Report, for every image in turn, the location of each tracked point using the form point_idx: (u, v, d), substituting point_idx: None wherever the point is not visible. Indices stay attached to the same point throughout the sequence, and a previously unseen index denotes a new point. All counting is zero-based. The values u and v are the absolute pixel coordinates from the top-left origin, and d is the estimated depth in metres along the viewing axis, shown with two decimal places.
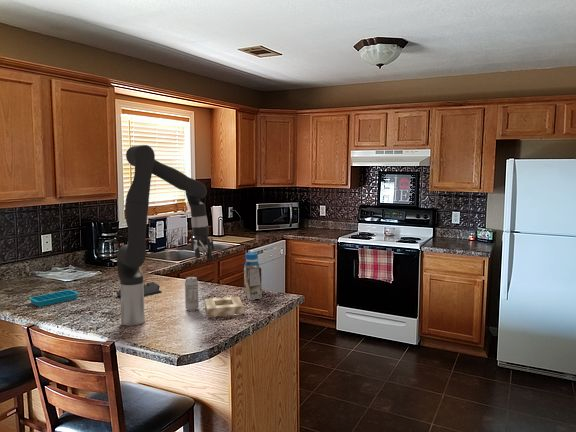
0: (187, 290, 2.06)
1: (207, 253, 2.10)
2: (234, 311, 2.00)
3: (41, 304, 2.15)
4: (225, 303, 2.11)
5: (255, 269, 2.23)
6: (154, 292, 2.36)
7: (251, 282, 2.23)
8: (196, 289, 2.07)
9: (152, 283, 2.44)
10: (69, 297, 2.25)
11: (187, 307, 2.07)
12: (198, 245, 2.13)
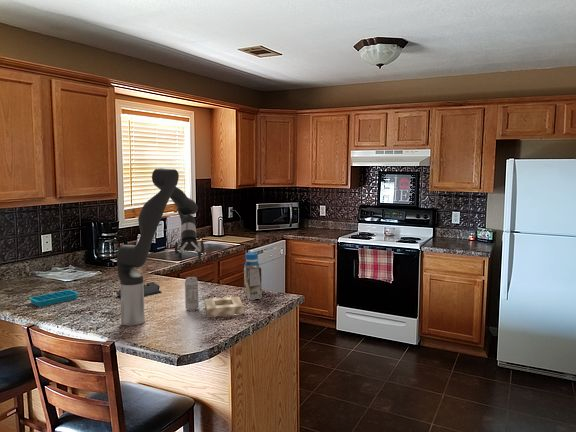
0: (187, 290, 2.06)
1: (199, 253, 2.21)
2: (234, 311, 2.00)
3: (41, 304, 2.15)
4: (225, 303, 2.11)
5: (255, 269, 2.23)
6: (154, 292, 2.36)
7: (251, 282, 2.23)
8: (196, 289, 2.07)
9: (152, 283, 2.44)
10: (69, 297, 2.25)
11: (187, 307, 2.07)
12: (186, 247, 2.22)
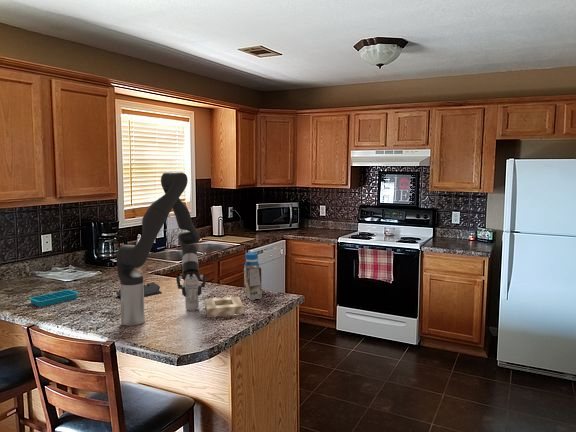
0: (187, 290, 2.06)
1: (199, 287, 2.09)
2: (234, 311, 2.00)
3: (42, 304, 2.15)
4: (225, 303, 2.11)
5: (255, 269, 2.23)
6: (154, 293, 2.35)
7: (251, 282, 2.23)
8: (196, 289, 2.07)
9: (152, 284, 2.43)
10: (69, 297, 2.26)
11: (187, 307, 2.07)
12: None
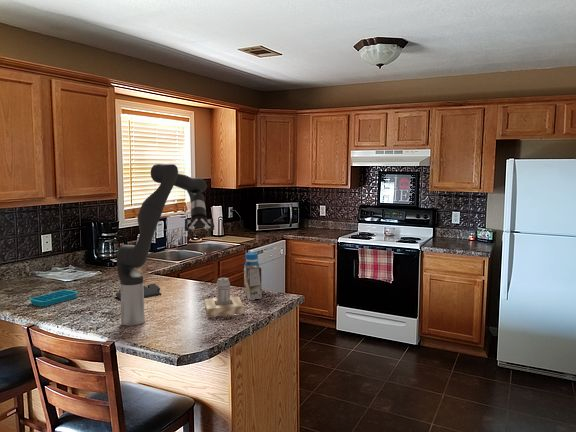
0: (219, 291, 2.04)
1: (209, 229, 2.20)
2: (234, 311, 2.00)
3: (45, 304, 2.15)
4: None
5: (255, 269, 2.23)
6: (153, 294, 2.32)
7: (251, 282, 2.23)
8: (228, 290, 2.05)
9: (153, 285, 2.40)
10: (70, 296, 2.27)
11: None
12: (196, 224, 2.20)
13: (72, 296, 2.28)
